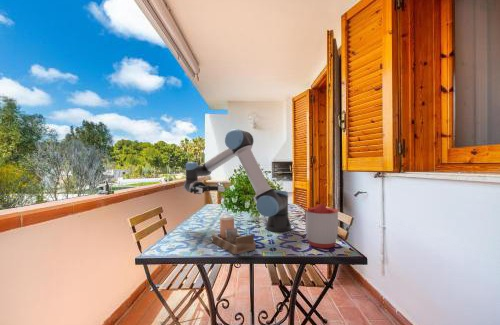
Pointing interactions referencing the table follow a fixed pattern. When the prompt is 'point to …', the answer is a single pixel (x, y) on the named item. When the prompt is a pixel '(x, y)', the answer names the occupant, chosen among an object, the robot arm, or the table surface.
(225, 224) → the jar
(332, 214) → the citrus juicer
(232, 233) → the pusher
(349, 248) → the table surface
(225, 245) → the tray
